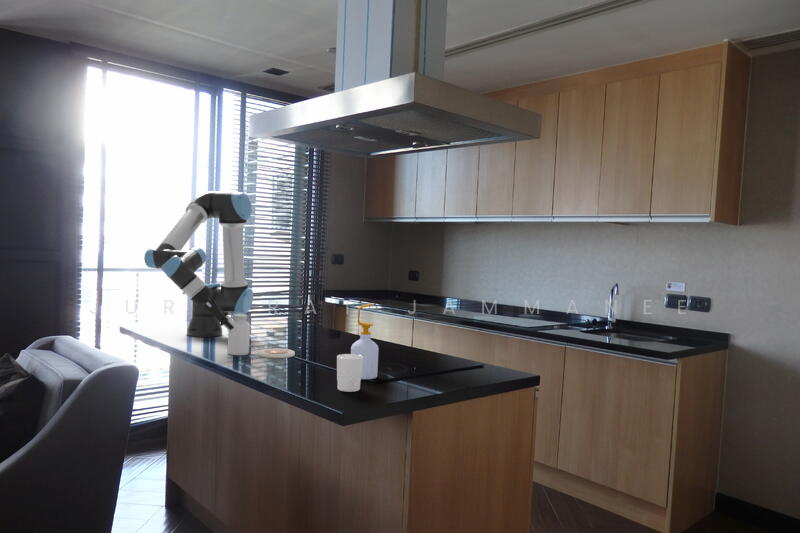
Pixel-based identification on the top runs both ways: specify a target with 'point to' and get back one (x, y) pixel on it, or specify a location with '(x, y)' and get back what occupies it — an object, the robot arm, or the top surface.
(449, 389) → the top surface
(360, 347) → the soap bottle
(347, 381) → the white cup
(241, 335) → the pill bottle
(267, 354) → the coaster
